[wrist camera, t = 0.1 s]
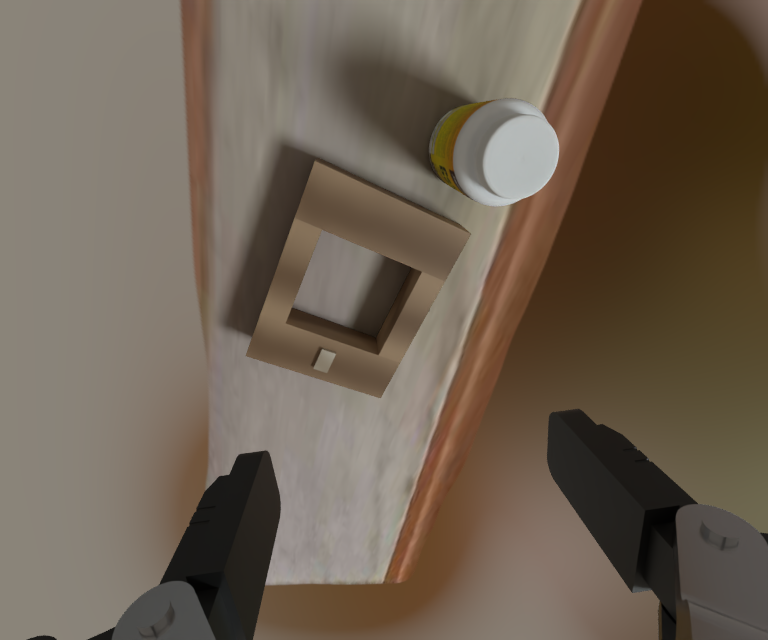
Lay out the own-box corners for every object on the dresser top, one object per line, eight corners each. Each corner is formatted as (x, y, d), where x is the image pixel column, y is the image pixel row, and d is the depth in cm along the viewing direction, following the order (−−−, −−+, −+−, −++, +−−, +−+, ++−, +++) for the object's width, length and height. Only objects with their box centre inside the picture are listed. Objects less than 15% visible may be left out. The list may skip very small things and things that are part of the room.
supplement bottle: (413, 165, 28) (445, 183, 19) (453, 88, 26) (510, 68, 17) (474, 201, 30) (530, 233, 21) (516, 131, 28) (599, 133, 19)
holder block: (317, 157, 28) (314, 161, 25) (460, 224, 31) (472, 235, 28) (253, 337, 34) (244, 357, 31) (378, 378, 37) (380, 400, 34)
